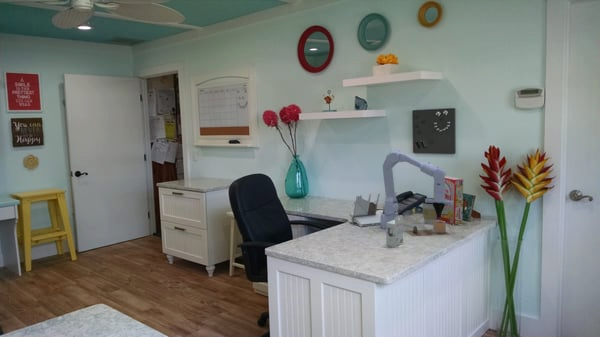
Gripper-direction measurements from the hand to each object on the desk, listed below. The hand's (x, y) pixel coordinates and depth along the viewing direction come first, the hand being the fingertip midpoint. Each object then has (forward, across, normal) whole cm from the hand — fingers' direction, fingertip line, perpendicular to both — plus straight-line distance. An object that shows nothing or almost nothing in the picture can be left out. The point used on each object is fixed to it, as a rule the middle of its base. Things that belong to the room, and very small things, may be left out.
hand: (438, 217), depth 238 cm
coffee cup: (+10, +12, -19) cm, 25 cm away
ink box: (+10, +10, +33) cm, 36 cm away
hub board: (+9, +5, +5) cm, 11 cm away
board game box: (+10, +7, -33) cm, 35 cm away
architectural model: (+10, +41, -6) cm, 43 cm away
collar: (+7, 0, 0) cm, 7 cm away
